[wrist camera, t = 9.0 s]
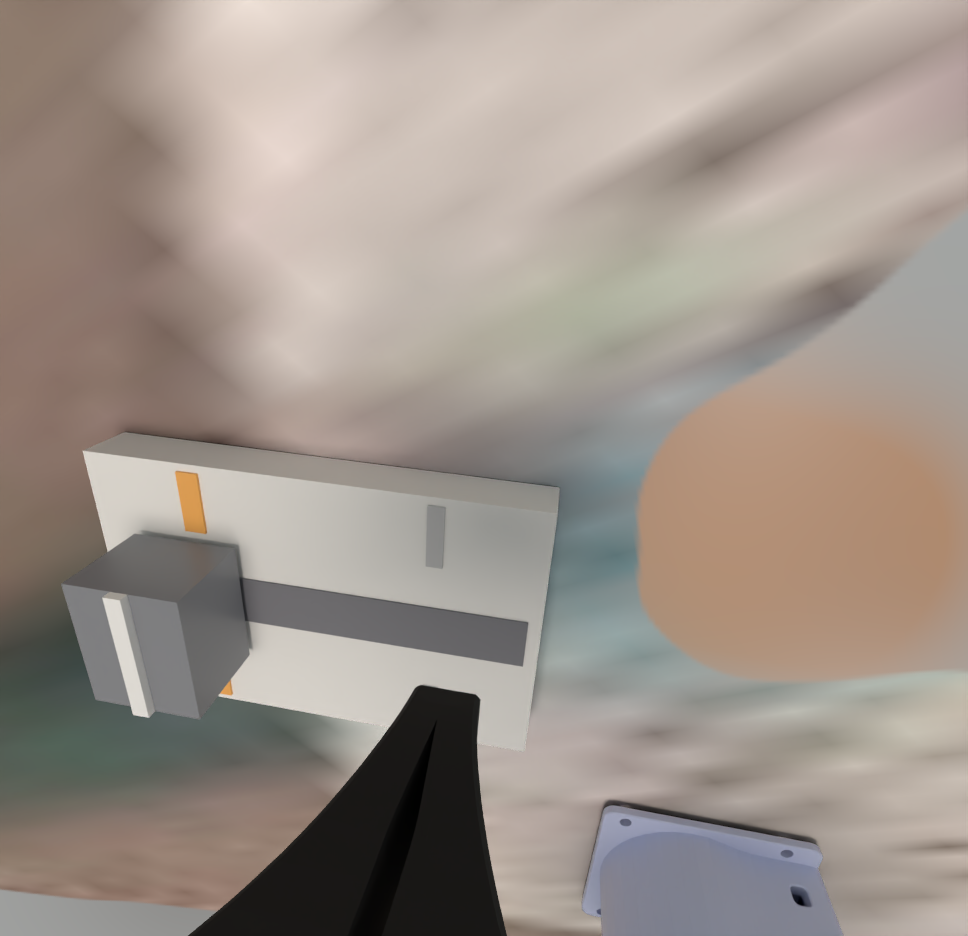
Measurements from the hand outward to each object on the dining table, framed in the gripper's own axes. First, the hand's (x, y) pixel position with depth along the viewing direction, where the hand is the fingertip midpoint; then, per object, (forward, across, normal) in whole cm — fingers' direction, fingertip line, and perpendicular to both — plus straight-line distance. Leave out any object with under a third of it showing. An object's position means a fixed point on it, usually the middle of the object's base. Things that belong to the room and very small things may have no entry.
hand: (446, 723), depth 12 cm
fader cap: (+7, +11, +4) cm, 14 cm away
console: (+9, +6, +4) cm, 12 cm away
